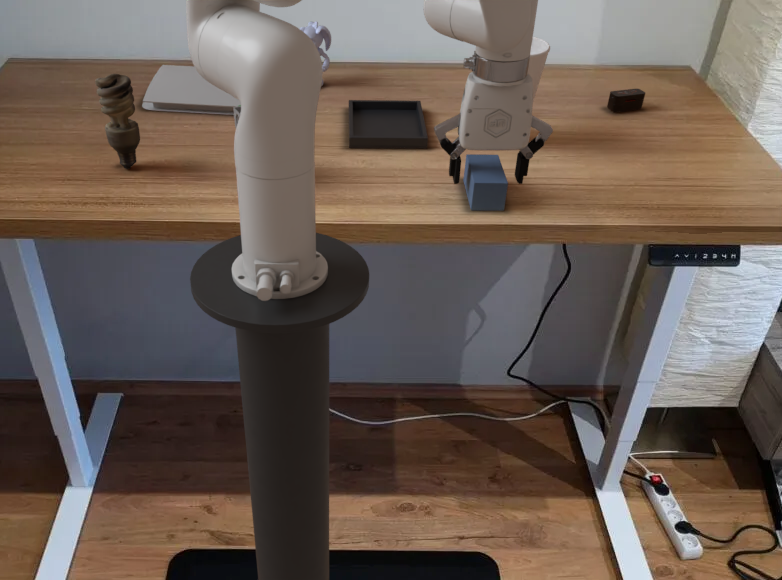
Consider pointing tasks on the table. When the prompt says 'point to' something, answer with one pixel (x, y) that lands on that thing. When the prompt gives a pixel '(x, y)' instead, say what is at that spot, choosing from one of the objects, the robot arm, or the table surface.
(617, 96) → the wireless earbuds
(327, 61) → the toy figurine
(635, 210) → the table surface
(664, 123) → the table surface
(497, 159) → the rectangular block
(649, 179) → the table surface
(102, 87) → the light bulb
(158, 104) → the book
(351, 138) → the black tray
